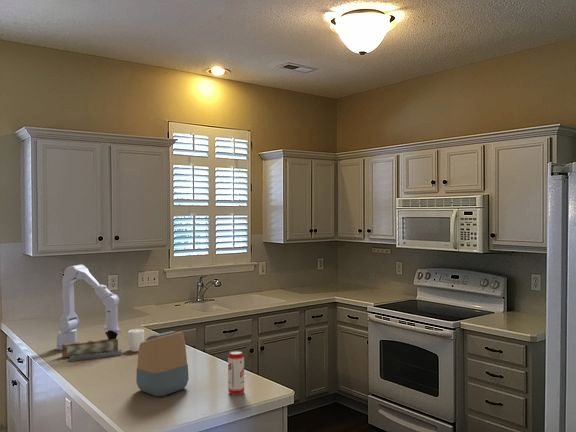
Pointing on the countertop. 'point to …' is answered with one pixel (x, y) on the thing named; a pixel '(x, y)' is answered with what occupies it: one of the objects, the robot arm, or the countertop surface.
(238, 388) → the beer can
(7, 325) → the countertop surface
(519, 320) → the countertop surface
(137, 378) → the two-tone smart speaker
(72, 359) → the slanted bar
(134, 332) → the white cup
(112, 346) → the picture frame
